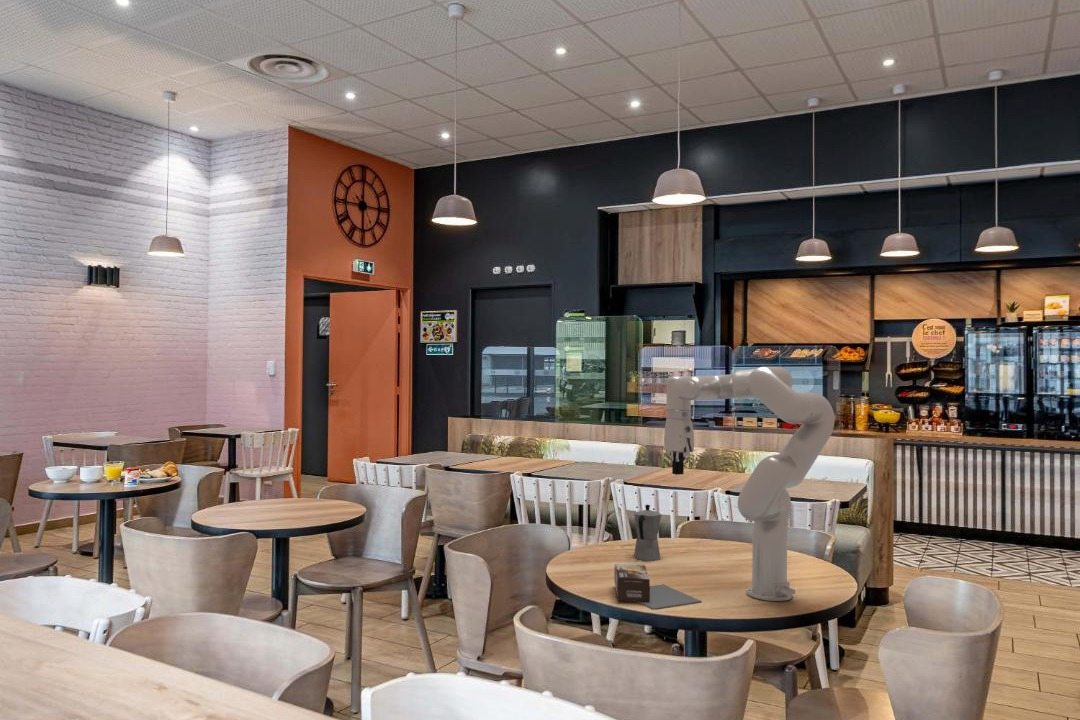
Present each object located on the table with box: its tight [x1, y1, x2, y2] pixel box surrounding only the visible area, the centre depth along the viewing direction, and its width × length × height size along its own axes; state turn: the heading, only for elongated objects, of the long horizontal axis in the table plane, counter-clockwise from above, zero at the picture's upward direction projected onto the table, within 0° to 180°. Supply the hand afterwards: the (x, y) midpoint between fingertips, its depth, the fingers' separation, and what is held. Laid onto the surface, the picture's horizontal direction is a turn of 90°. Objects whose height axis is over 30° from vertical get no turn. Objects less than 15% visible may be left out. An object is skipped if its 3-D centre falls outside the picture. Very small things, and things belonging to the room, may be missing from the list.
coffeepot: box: [633, 504, 662, 562], centre depth 262 cm, size 15×9×18 cm, turn 156°
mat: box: [635, 583, 703, 610], centre depth 217 cm, size 18×16×1 cm
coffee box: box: [613, 563, 651, 602], centre depth 219 cm, size 9×6×16 cm
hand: (677, 474), depth 243 cm, fingers closed
